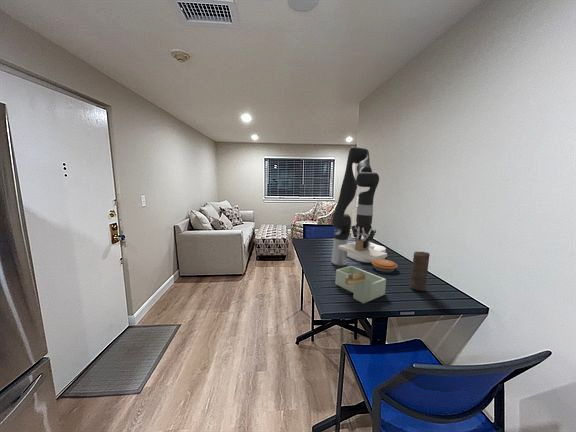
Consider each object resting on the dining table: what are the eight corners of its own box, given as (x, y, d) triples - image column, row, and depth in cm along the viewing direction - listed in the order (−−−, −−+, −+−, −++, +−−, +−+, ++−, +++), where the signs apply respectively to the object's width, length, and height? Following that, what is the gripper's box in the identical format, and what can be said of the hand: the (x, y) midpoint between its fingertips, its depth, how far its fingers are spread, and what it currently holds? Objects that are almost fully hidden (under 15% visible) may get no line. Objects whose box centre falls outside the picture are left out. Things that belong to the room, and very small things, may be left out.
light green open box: (329, 285, 134) (330, 268, 132) (350, 279, 143) (351, 262, 142) (363, 303, 116) (365, 283, 115) (384, 294, 126) (386, 276, 124)
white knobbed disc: (339, 253, 191) (341, 232, 189) (364, 249, 203) (366, 229, 200) (363, 264, 169) (365, 240, 167) (390, 259, 181) (392, 237, 178)
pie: (395, 266, 166) (395, 259, 165) (399, 275, 151) (399, 267, 150) (370, 263, 170) (371, 256, 169) (372, 272, 155) (372, 264, 154)
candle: (424, 293, 127) (429, 255, 124) (408, 290, 131) (412, 252, 128) (425, 288, 134) (430, 251, 131) (410, 284, 138) (414, 249, 134)
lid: (337, 248, 133) (338, 236, 132) (352, 245, 140) (352, 233, 139) (372, 260, 116) (374, 246, 115) (387, 256, 122) (388, 243, 121)
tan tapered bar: (345, 283, 113) (345, 273, 113) (359, 278, 119) (360, 269, 118) (350, 285, 111) (351, 276, 110) (364, 280, 117) (365, 271, 116)
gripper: (381, 215, 121) (378, 249, 124) (358, 211, 132) (355, 243, 135) (372, 216, 117) (368, 252, 120) (348, 211, 128) (346, 244, 131)
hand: (361, 247), depth 127 cm, fingers closed on lid, 3 cm apart
